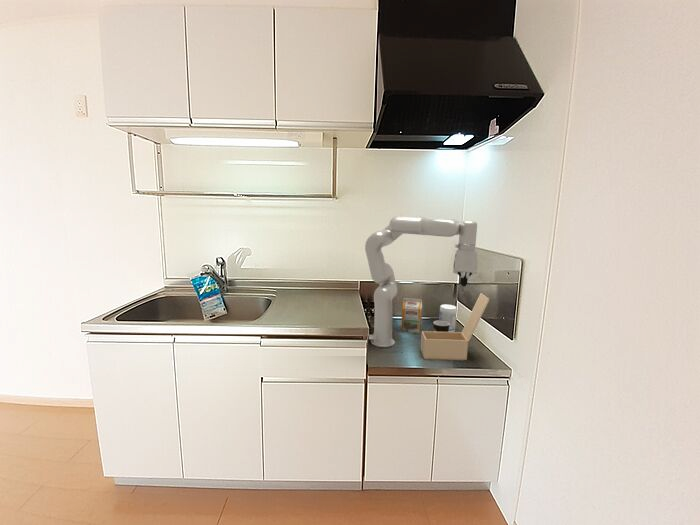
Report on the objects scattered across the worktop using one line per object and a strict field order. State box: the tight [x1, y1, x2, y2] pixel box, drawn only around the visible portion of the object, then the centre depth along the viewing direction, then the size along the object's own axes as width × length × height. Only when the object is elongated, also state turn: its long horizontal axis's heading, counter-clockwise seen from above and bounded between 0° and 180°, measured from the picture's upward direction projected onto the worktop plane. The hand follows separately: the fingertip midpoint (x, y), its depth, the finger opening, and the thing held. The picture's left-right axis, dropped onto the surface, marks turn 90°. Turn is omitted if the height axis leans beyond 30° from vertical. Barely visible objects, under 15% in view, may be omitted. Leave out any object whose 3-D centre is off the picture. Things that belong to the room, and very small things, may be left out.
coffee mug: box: [432, 320, 450, 332], centre depth 187 cm, size 12×9×10 cm
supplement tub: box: [438, 303, 457, 332], centre depth 201 cm, size 10×10×15 cm
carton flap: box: [461, 292, 491, 342], centre depth 164 cm, size 22×11×1 cm
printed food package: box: [400, 297, 423, 335], centre depth 201 cm, size 11×10×19 cm
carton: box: [420, 330, 469, 361], centre depth 167 cm, size 20×11×10 cm, turn 87°
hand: (463, 285), depth 162 cm, fingers closed
